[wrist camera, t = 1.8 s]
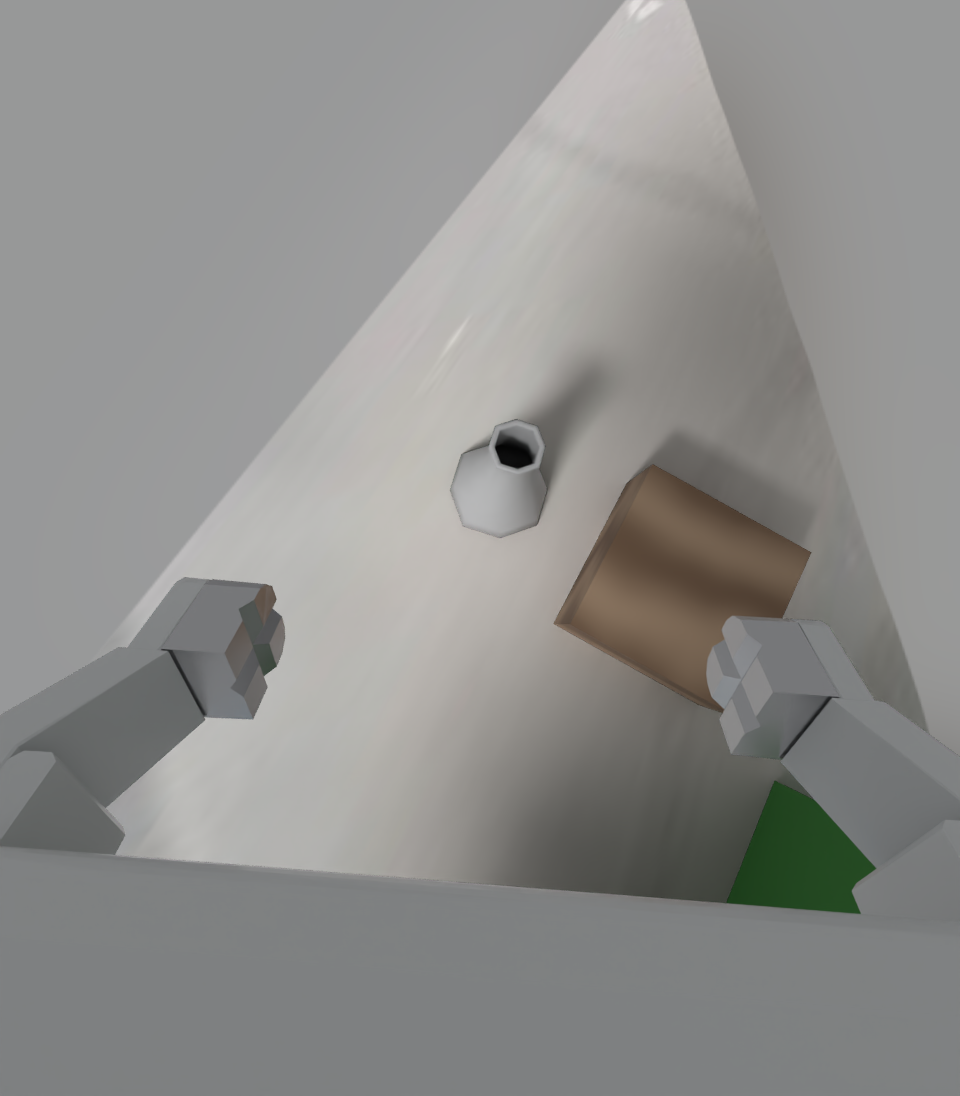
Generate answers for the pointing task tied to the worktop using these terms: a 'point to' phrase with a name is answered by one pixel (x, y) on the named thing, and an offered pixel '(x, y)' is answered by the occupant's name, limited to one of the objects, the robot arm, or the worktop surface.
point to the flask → (502, 481)
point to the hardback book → (799, 858)
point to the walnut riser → (677, 581)
